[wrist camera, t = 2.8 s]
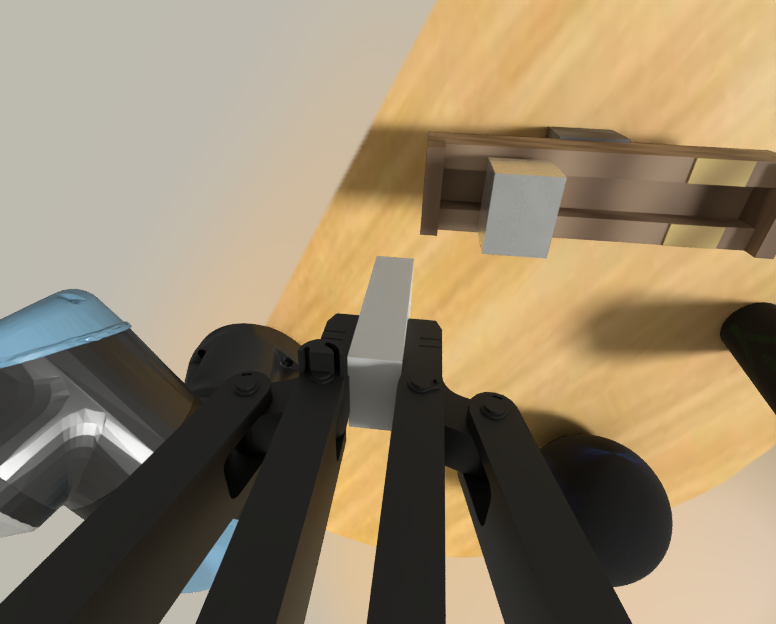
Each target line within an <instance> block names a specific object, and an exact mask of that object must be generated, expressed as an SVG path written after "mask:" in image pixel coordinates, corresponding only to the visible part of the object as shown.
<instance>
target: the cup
mask: <svg viewBox="0 0 776 624" xmlns="http://www.w3.org/2000/svg"><path fill="white" fill-rule="evenodd" d="M720 336H721V340H722V341H723V343H724V344H725V345H726V347H727V348H728V349H729V351H730V352H731V354H732V355H733V356H734V358H735V359H736V361H737V362H738V363H739V365H740V366H741V367H742V369H743V370H744V372H745V373H746V374H747V376H748V377H749V378H750V380H751V381H752V383H753V384H754V385H755V387H756V388H757V390H758V391H759V392H760V394H761V395H762V396H763V398H764V399H765V401H766V402H767V403H768V405H769V406H770V407H771V409H772V410H773V412H774V413H775V414H776V305H774V304H772V303H755V304H751V305H747V306H745V307H743V308H740V309H739V310H737V311H736V312H734V313H733V314H731V315H730V316H729V317H728V318H727V319H726V321H725V322H724V323H723V325H722V328H721V332H720Z"/></svg>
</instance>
